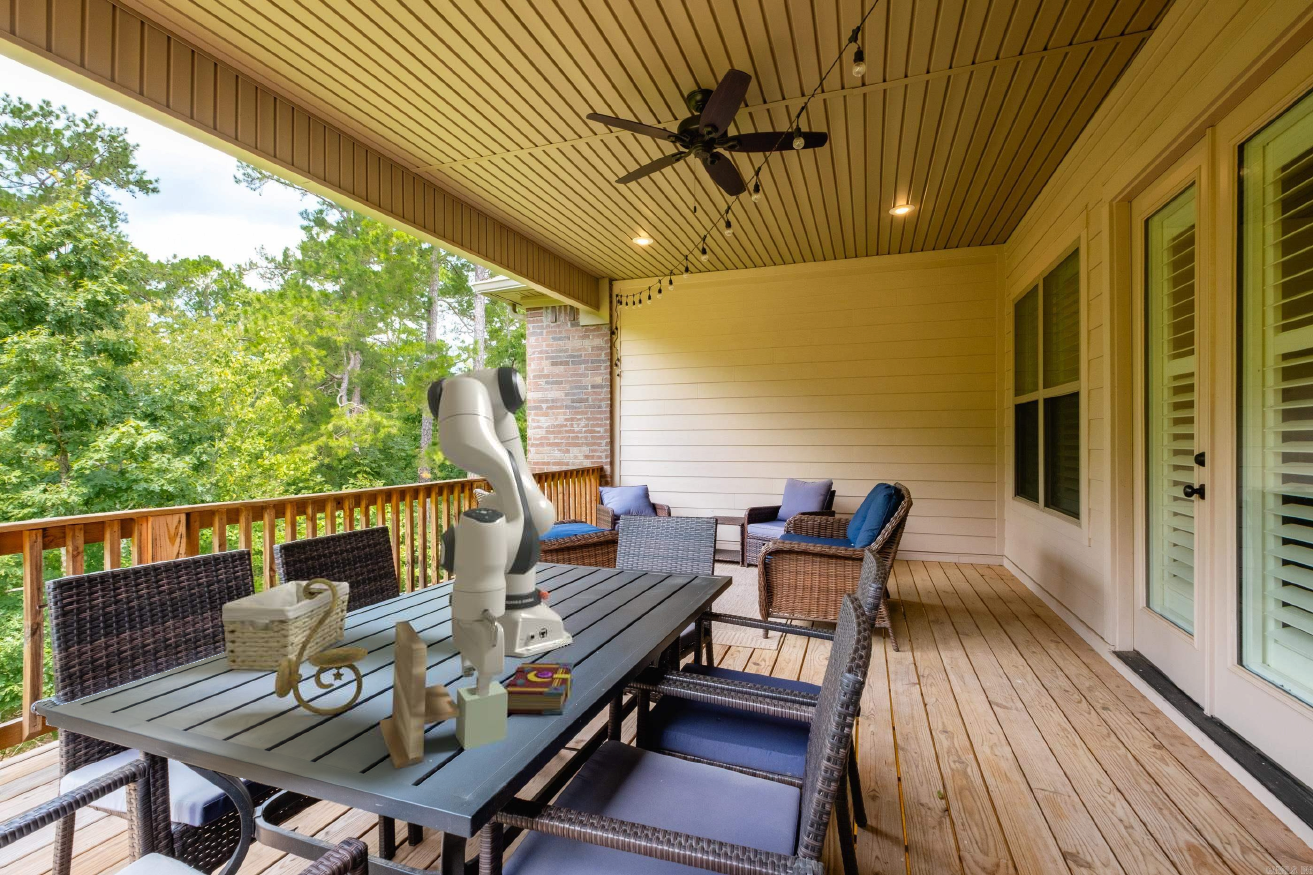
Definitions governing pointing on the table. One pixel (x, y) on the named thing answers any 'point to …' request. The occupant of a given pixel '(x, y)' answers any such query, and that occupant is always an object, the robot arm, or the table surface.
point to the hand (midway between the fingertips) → (474, 685)
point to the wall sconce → (320, 661)
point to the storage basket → (281, 624)
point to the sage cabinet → (481, 715)
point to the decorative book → (539, 688)
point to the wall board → (413, 700)
